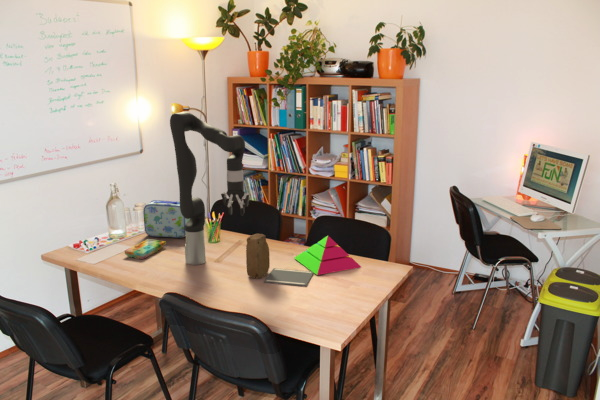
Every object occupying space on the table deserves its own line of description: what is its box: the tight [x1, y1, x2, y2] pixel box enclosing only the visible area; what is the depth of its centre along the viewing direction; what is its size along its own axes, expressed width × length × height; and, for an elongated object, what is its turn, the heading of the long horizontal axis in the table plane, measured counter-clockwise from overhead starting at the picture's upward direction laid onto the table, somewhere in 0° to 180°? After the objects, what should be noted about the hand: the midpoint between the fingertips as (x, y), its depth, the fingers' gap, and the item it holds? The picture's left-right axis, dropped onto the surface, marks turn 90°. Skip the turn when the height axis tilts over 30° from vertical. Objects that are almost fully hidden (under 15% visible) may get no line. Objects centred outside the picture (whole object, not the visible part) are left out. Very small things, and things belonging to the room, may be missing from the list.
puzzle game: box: [124, 238, 167, 260], centre depth 283 cm, size 12×5×20 cm
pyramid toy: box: [294, 235, 362, 276], centre depth 266 cm, size 25×25×14 cm
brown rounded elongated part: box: [245, 233, 271, 279], centre depth 251 cm, size 11×8×20 cm
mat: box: [263, 267, 315, 288], centre depth 250 cm, size 20×16×1 cm
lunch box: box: [143, 199, 190, 239], centre depth 308 cm, size 26×11×21 cm, turn 81°
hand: (236, 214), depth 248 cm, fingers open, 5 cm apart
